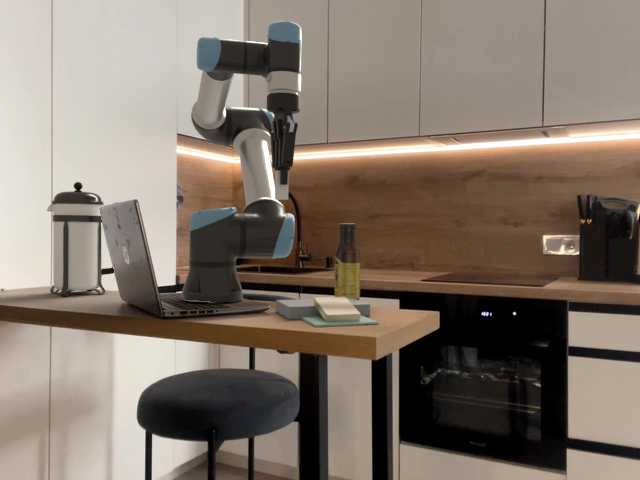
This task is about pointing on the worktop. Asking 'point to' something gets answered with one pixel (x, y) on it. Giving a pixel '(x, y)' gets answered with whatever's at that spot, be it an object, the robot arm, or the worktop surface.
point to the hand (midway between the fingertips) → (281, 199)
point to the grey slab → (312, 308)
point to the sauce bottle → (347, 264)
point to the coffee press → (77, 242)
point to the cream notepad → (336, 309)
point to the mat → (320, 322)
